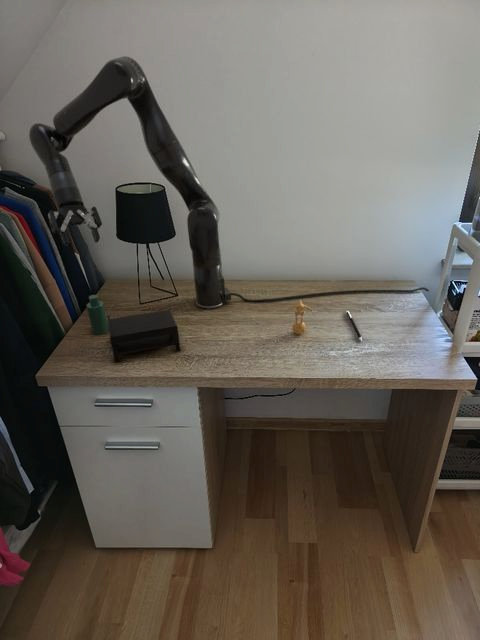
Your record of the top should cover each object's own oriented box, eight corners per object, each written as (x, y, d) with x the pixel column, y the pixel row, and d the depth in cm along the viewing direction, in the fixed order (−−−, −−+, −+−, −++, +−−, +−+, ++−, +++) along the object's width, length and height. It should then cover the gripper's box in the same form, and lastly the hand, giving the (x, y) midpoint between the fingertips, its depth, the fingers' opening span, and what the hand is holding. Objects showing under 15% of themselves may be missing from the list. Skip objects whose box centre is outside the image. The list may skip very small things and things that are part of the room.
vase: (108, 325, 150) (101, 292, 144) (109, 333, 146) (102, 298, 140) (92, 328, 149) (84, 294, 143) (92, 335, 145) (84, 301, 139)
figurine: (312, 330, 146) (313, 294, 139) (313, 340, 141) (315, 303, 134) (284, 329, 146) (285, 294, 140) (285, 340, 141) (285, 303, 134)
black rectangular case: (172, 329, 147) (169, 305, 143) (180, 351, 137) (177, 325, 132) (112, 339, 142) (107, 315, 138) (115, 362, 132) (109, 337, 128)
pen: (348, 312, 155) (348, 308, 154) (363, 342, 139) (363, 339, 138) (345, 312, 155) (345, 309, 154) (360, 342, 139) (360, 339, 138)
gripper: (42, 187, 135) (61, 242, 135) (92, 184, 143) (109, 235, 143) (38, 198, 141) (55, 251, 141) (86, 195, 149) (102, 244, 149)
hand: (83, 243), depth 142 cm, fingers open, 8 cm apart
